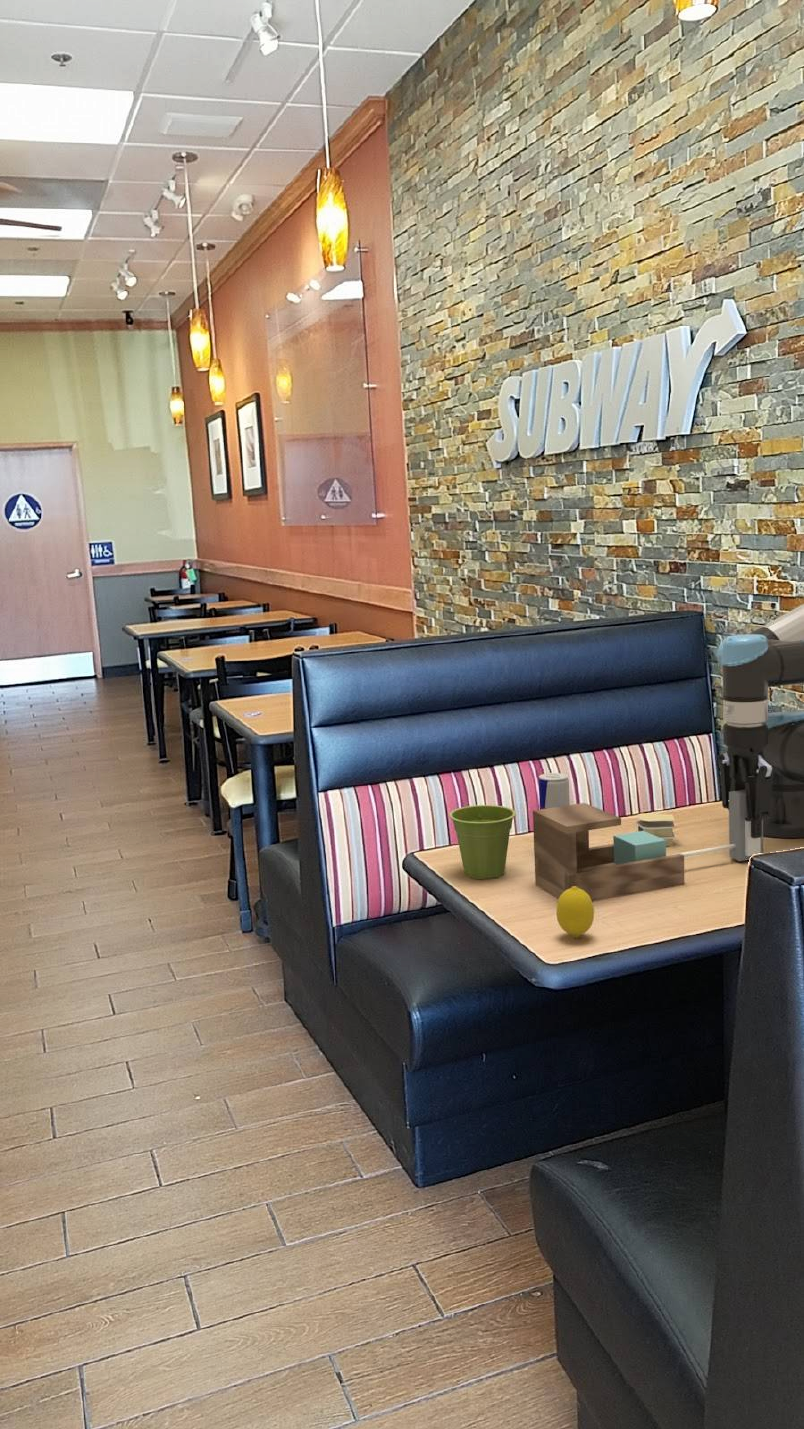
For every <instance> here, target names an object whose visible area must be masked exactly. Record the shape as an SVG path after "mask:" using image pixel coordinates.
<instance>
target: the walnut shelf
mask: <svg viewBox="0 0 804 1429" xmlns="http://www.w3.org/2000/svg"><path fill="white" fill-rule="evenodd" d="M532 825H533V827H532V828H533V849H534V852H533V853H534V855H533V856H534V877H535V878H534V879H535V881H534V882H535V886H537V887H538V888H540V889H542V890H543V891H545V892H547V893H548V894H550V895H552V896H553V897H555V898H556V899H559V897H560V895H561V894H562V893H563V892H564V891H566V890H567V889H570V888H571V887H572V886H576V887H577V888H579V889H582V890H584V891H585V892H586V893H587V894H588V895H589V896H590V898H591V900H592V902H594V901H599V900H600V901H601V900H606V899H610V898H617V897H622V896H626V895H627V896H628V895H632V894H638V893H643V892H649V891H653V890H660V889H664V888H670V887H675V886H680V885H685V857H684V855H682V854H678V853H674V854H675V855H673V854H669V856H667V855H666V856H664V857H658V858H652V859H646V860H641V861H635V862H629V863H623V864H618V865H616V864H614V843H610V844H609V843H608V844H603V845H599V846H591V847H590V836H589V834H590V833H589V832H590V831H593V830H600V829H605V828H607V829H608V828H612V827H618V826H622V817H620V816H617V815H614V814H612V813H610V812H608V811H605V810H603V809H600V808H598V807H596V806H594V805H591V804H588V803H586V802H582V803H575V804H574V803H573V804H570V805H567V806H560V807H553V808H547V809H540V808H539V809H534V810H532Z"/></svg>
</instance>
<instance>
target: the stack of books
mask: <svg viewBox="0 0 804 1429" xmlns="http://www.w3.org/2000/svg"><path fill="white" fill-rule="evenodd" d="M635 817H636V818H638V819H639V820H637V821H635V824H636V825H637V832H638V831H645V832H647V833H650V834H652V835H655V836H657V837H659V838H662V839H664V840H666V847H673V846H674V844H673V843H674V842H673V841H674V839H676V837H675V833H674V831H673V829H675V823H674V821H675V817H674V814H669V813H668V814H666V813H663V814H662V813H648V812H647V813H645V812H644V813H638V814H635Z"/></svg>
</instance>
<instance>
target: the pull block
mask: <svg viewBox="0 0 804 1429" xmlns="http://www.w3.org/2000/svg"><path fill="white" fill-rule="evenodd" d="M728 801H729V810H728V825H729V826H728V834H729V835H728V842H729V844H725V845H719V846H714V847H713V846H712V847H708V848H703V849H697V850H696V849H695V850H690V851H685V852H684V851H683V852H679V853H677V854H682V855H684V858H686V857H692V856H697V855H698V856H699V855H704V854H710V853H716V852H721V851H727V850H729V856H728V857H729V858H731V859H734V860H736V861H738V862H743V861H747V860H748V861H749V860H750V859H749V858H750V857H751V856H746V855H745V818H747V817H748V810H747V801H746V791H745V789H744V790H738V791H732V792H729V800H728ZM612 836H613V837H612V838H613V844H614V864H616V865H618V864H623V863H629V862H635V861H641V860H646V859H652V858H658V857H664V856H669V855H670V854H669V855H667V846H666V840H664V839H662V838H659V837H657V836H655V835H652V834H650V833H647V832H645V831H638V830H637V831H632V832H627V833H621V834H615V835H612ZM761 853H763V854H764V835H763V819H762V836H761ZM675 854H676V853H673V854H672V855H675Z"/></svg>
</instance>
